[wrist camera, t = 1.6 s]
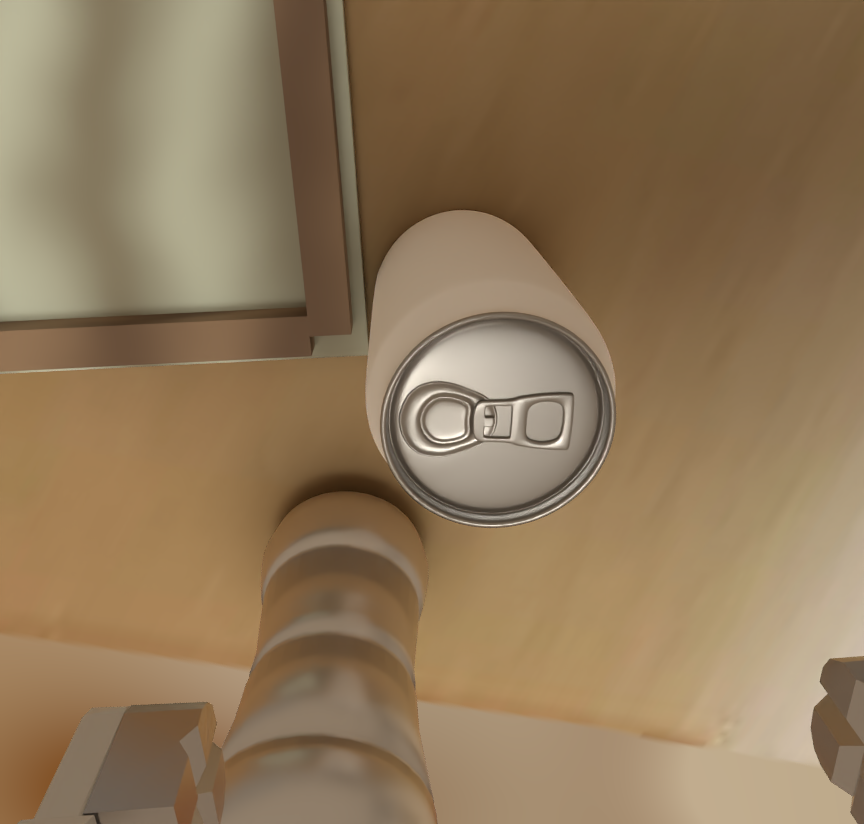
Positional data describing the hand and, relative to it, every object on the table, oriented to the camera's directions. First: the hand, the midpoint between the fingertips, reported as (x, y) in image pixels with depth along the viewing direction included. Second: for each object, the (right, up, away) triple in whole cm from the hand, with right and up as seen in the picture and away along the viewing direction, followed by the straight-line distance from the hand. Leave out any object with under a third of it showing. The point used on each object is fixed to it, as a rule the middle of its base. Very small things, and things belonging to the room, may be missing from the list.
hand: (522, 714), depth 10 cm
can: (0, +9, +19) cm, 21 cm away
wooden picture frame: (-12, +13, +16) cm, 24 cm away
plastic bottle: (-5, -1, +23) cm, 24 cm away
